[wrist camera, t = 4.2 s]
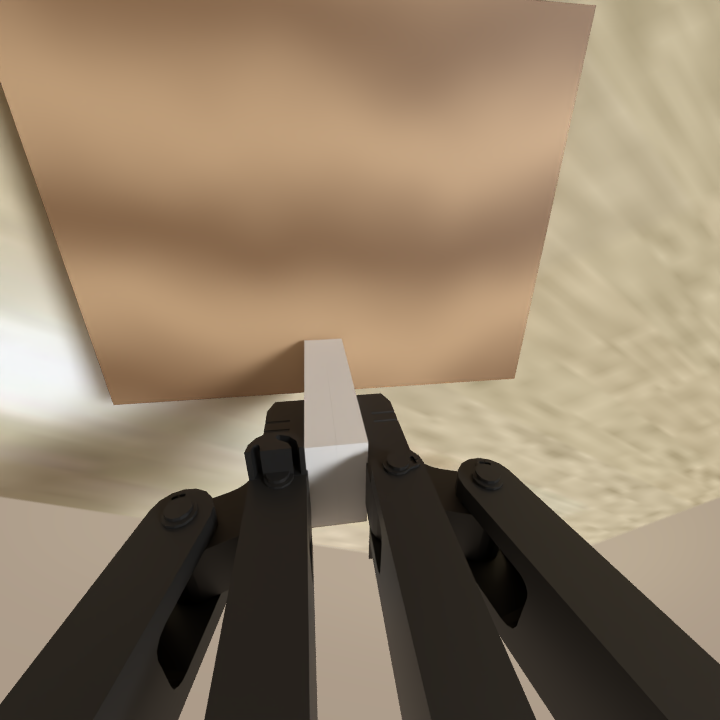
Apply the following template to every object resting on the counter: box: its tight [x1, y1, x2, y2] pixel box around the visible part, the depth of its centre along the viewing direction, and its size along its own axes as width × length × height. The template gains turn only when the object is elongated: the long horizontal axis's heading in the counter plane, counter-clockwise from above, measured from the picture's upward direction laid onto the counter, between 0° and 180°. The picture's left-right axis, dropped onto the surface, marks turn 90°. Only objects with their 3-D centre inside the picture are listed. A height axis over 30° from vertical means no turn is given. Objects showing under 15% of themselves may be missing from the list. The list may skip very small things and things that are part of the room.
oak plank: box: [0, 0, 596, 405], centre depth 13 cm, size 13×18×2 cm
